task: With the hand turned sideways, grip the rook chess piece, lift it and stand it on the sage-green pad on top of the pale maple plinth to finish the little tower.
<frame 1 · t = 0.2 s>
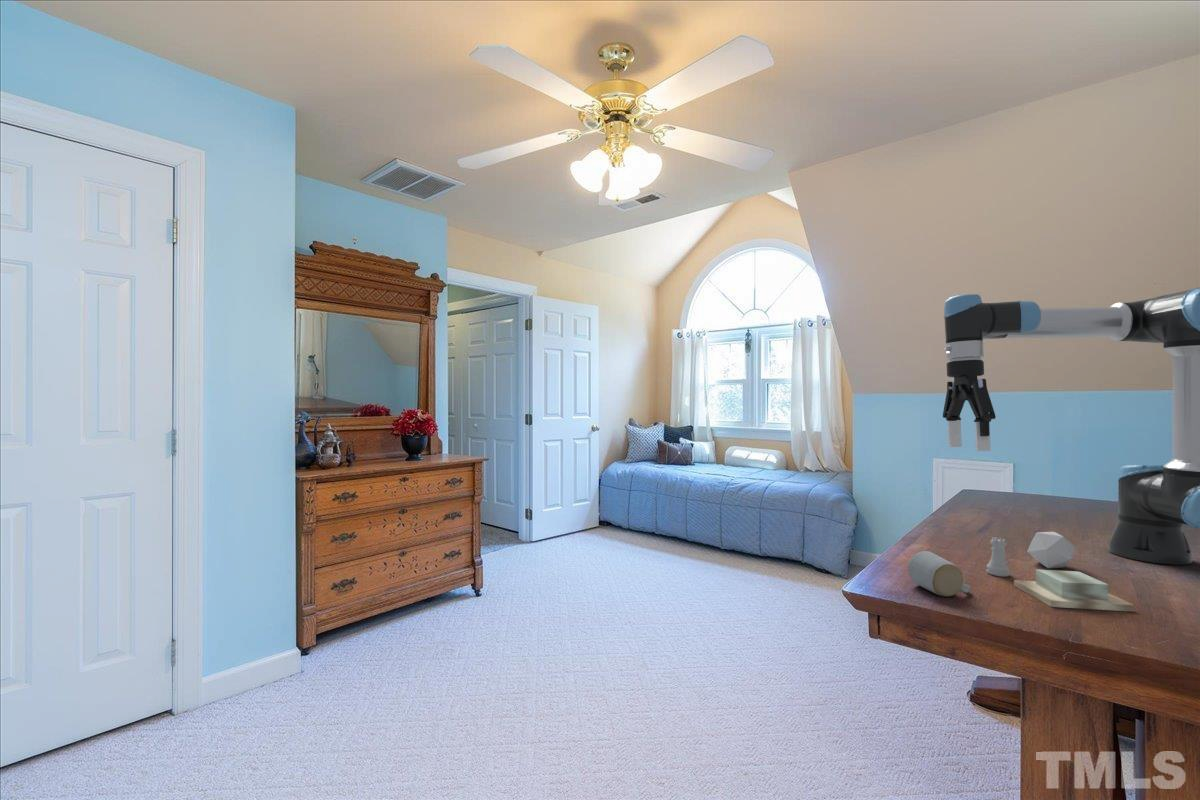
hand: (968, 448, 135), 27 cm above the table, tool pointing down, fingers open, 13 cm apart
plinth: (1070, 597, 112), on the table
die: (1050, 566, 133), on the table
ceramic mug: (940, 592, 115), on the table
rook chess piece: (998, 575, 127), on the table
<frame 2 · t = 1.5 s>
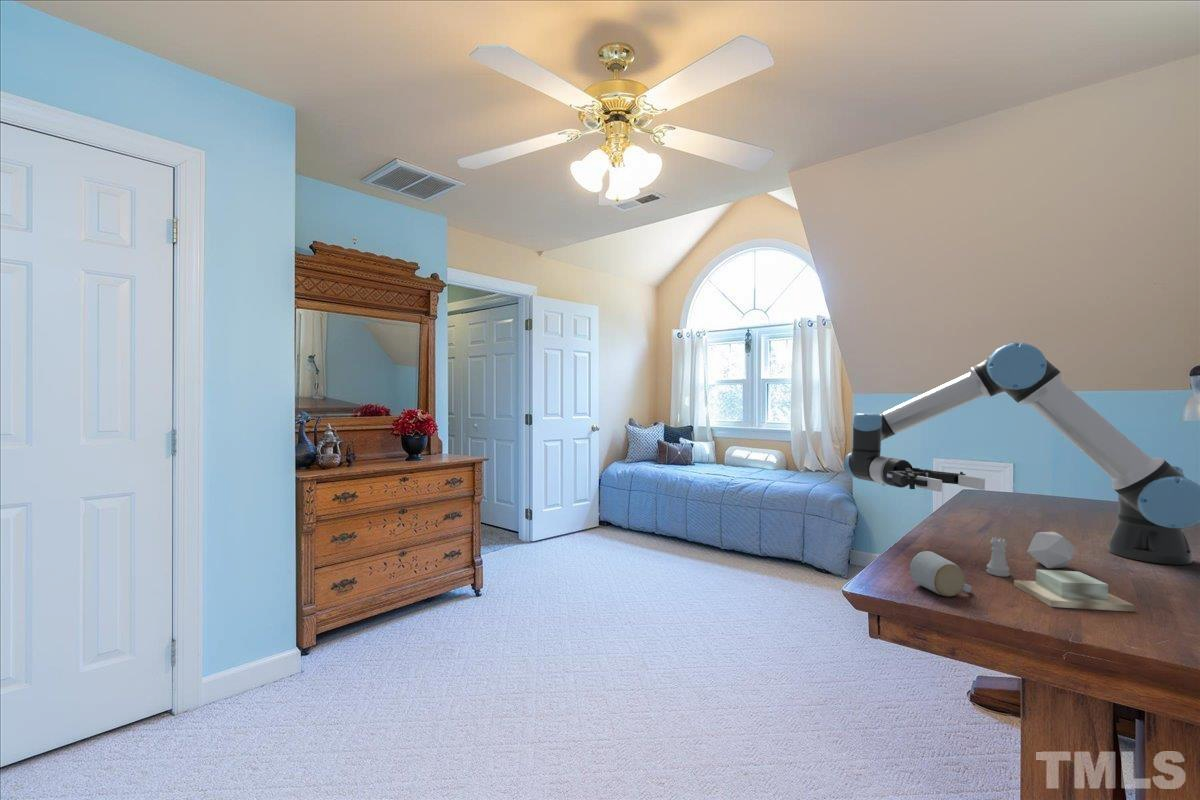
hand: (962, 485, 135), 19 cm above the table, tool horizontal, fingers open, 13 cm apart
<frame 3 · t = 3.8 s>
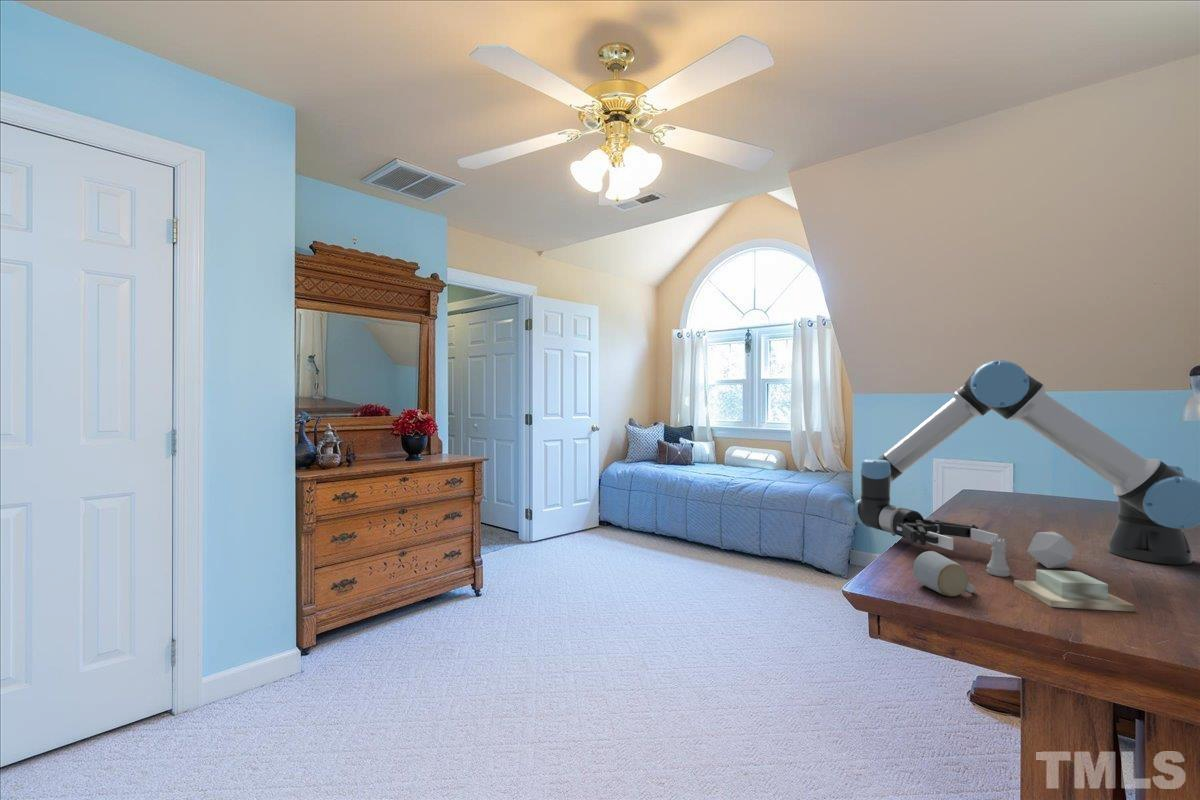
hand: (975, 542, 132), 6 cm above the table, tool horizontal, fingers open, 13 cm apart
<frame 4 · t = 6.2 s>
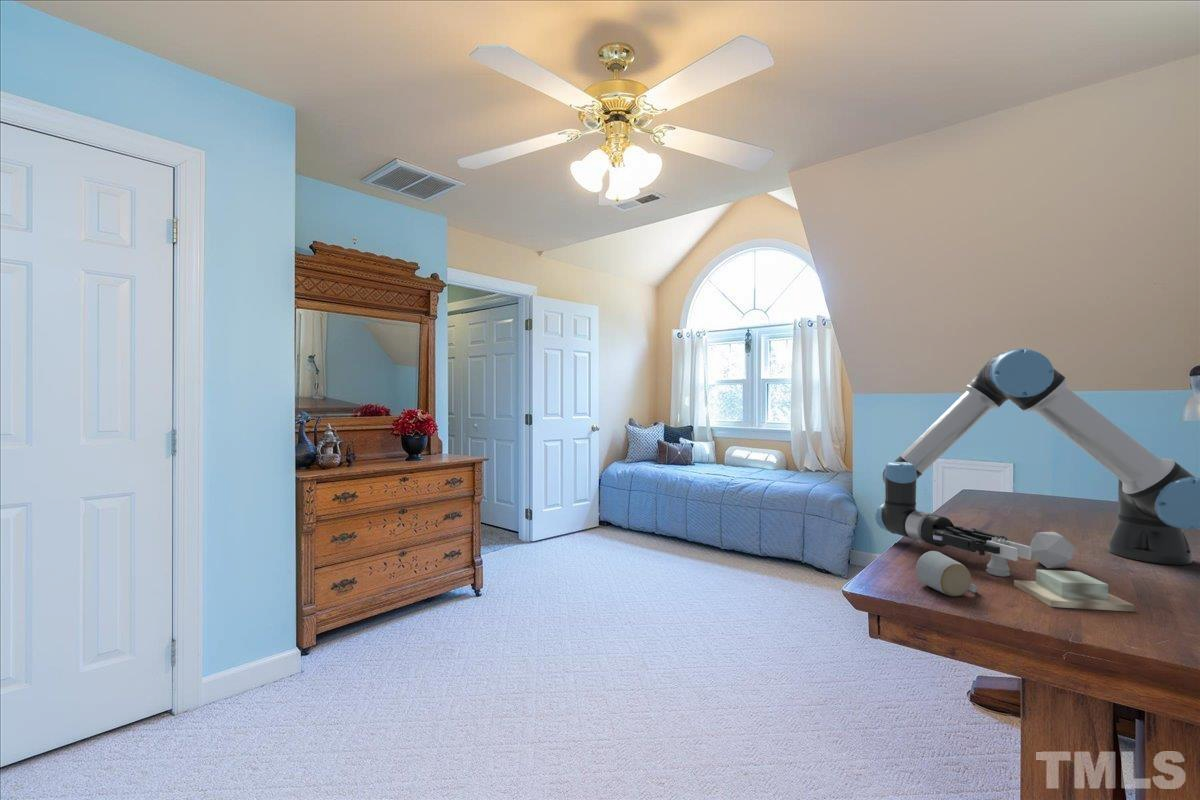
hand: (1022, 553, 121), 6 cm above the table, tool horizontal, fingers closed on rook chess piece, 3 cm apart
rook chess piece: (998, 574, 127), on the table, touching gripper
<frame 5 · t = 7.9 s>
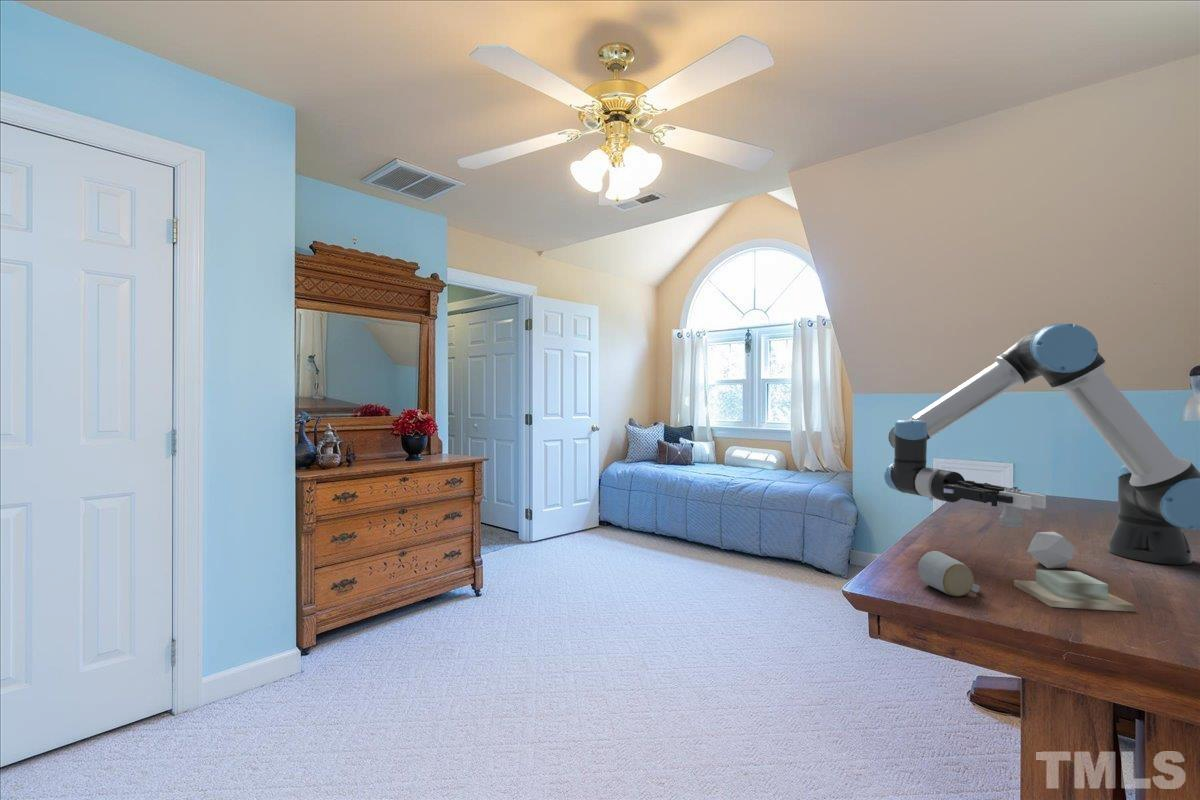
hand: (1037, 502, 118), 18 cm above the table, tool horizontal, fingers closed on rook chess piece, 3 cm apart
rook chess piece: (1011, 526, 123), point 12 cm above the table, touching gripper
when the fingers open (12 cm above the table, at t = 9.9 s): rook chess piece drops 1 cm, resting on plinth.
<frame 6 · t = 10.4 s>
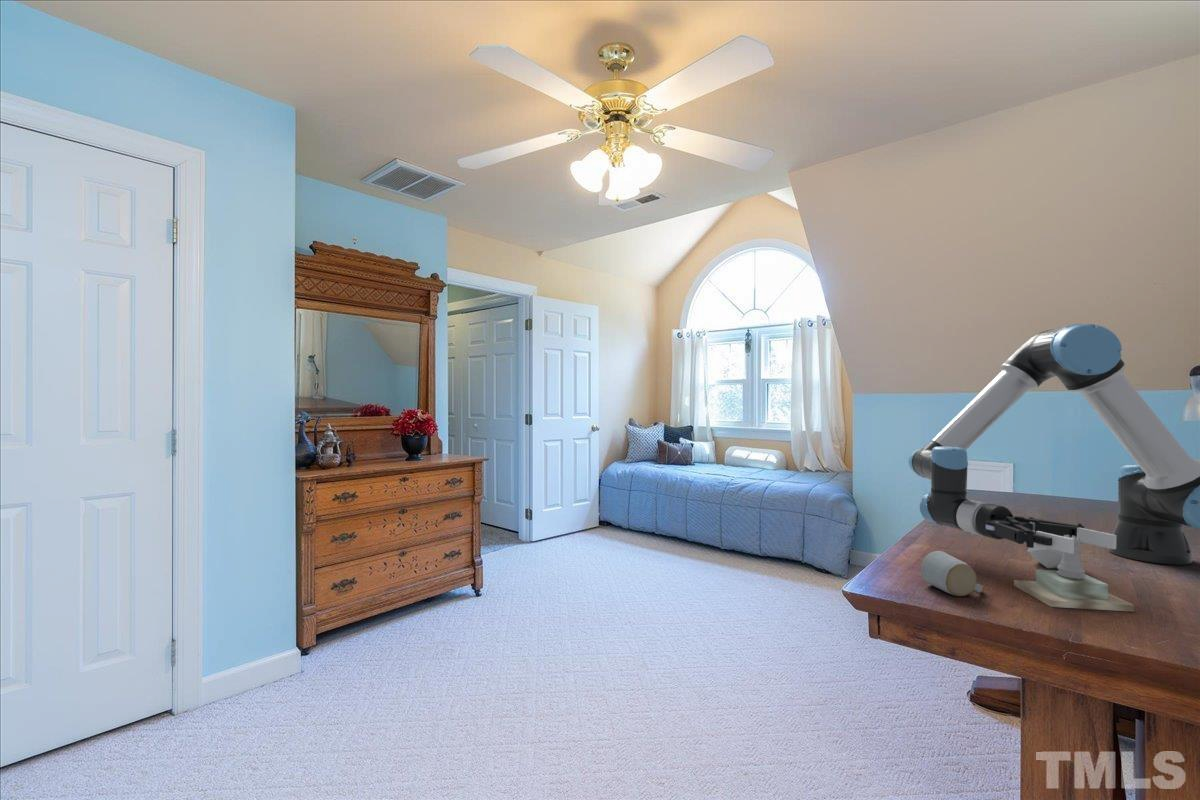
hand: (1094, 544, 108), 12 cm above the table, tool horizontal, fingers open, 11 cm apart
rook chess piece: (1070, 577, 112), point 4 cm above the table, touching plinth
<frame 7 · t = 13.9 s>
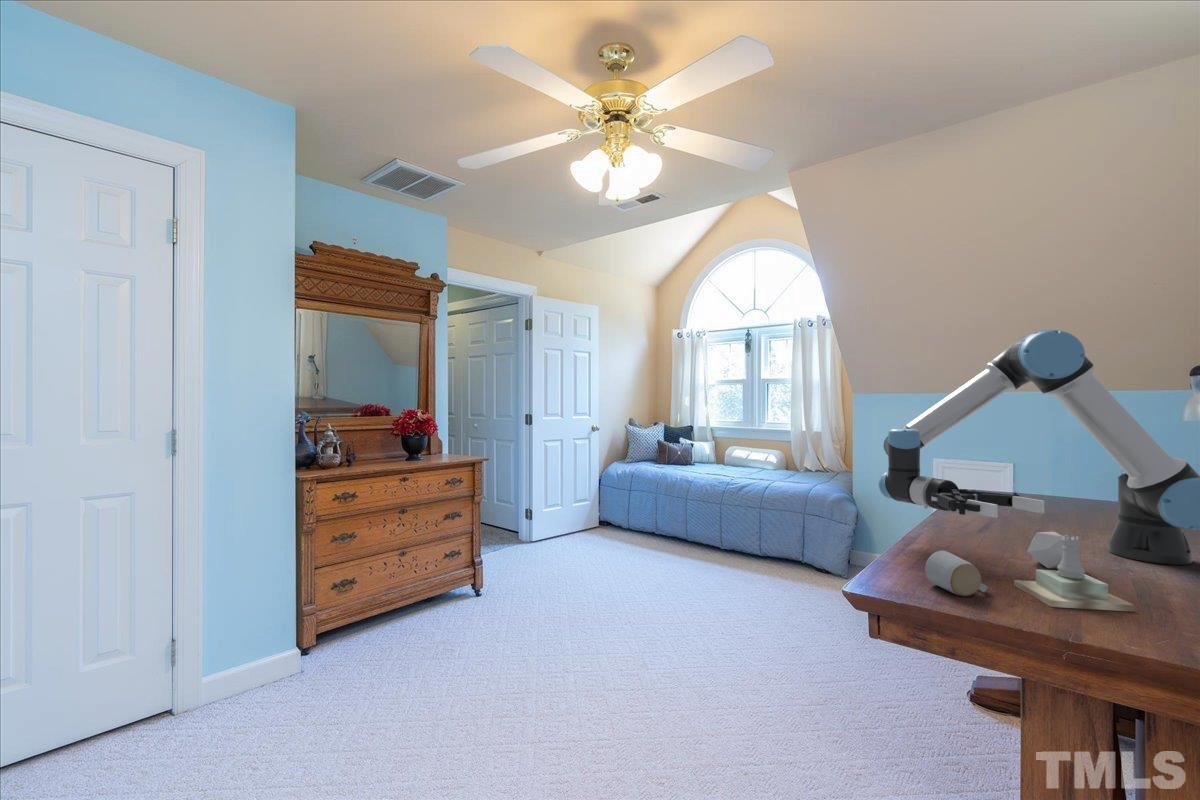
hand: (1020, 509, 121), 16 cm above the table, tool horizontal, fingers open, 13 cm apart
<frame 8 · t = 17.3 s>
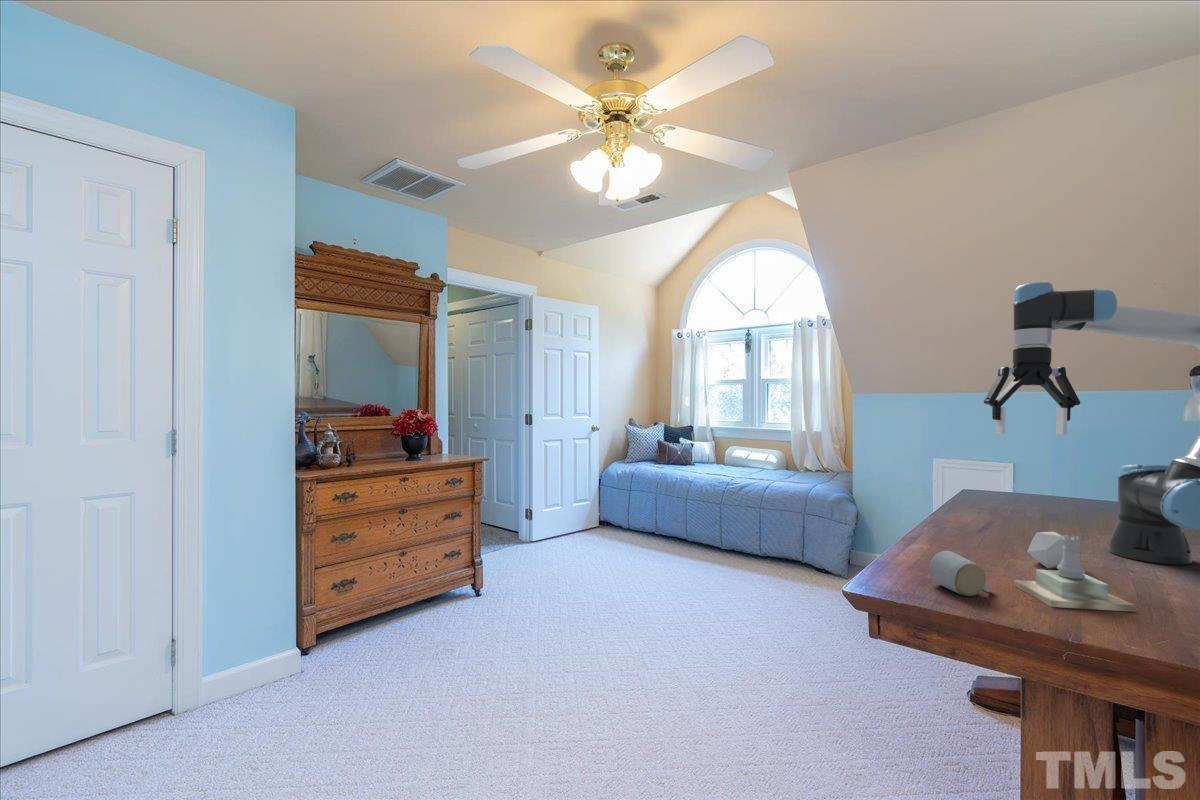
hand: (1030, 434, 138), 31 cm above the table, tool pointing down, fingers open, 13 cm apart
at the end: rook chess piece 0.0 cm off-centre on the plinth, point 4.0 cm above the plinth's base; rook chess piece tilted 0°; the gripper is holding nothing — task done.
